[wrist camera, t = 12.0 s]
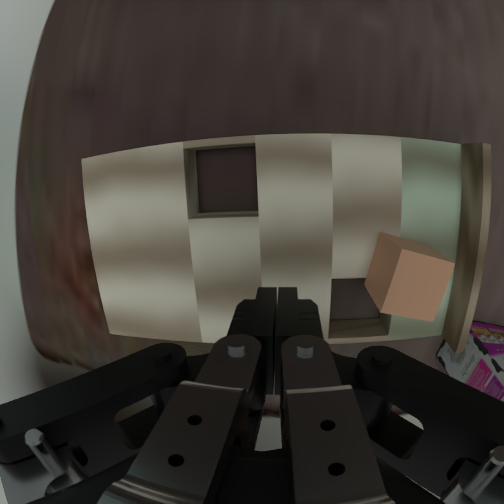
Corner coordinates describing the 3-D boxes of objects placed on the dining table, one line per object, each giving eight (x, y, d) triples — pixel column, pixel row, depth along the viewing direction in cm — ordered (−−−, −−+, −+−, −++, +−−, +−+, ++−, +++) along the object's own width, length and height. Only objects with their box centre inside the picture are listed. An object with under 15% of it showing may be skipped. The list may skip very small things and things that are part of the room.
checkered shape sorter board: (101, 158, 24) (58, 160, 18) (450, 146, 20) (490, 144, 14) (124, 319, 28) (93, 350, 22) (435, 318, 24) (463, 352, 18)
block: (379, 231, 20) (401, 248, 15) (426, 244, 19) (455, 263, 15) (363, 284, 21) (380, 312, 17) (410, 294, 21) (432, 321, 16)
